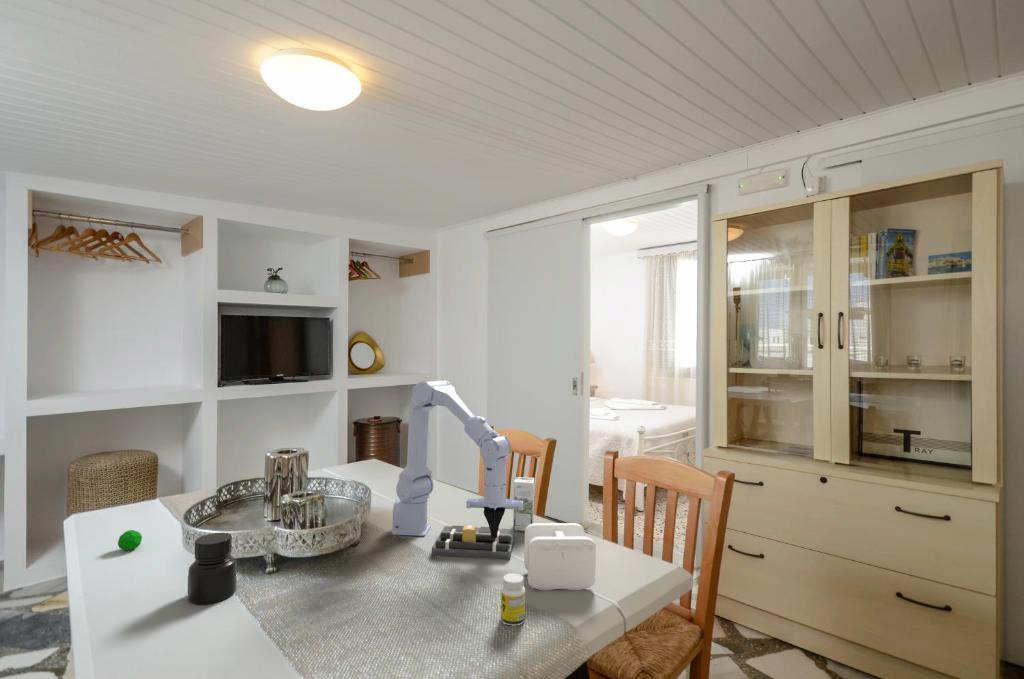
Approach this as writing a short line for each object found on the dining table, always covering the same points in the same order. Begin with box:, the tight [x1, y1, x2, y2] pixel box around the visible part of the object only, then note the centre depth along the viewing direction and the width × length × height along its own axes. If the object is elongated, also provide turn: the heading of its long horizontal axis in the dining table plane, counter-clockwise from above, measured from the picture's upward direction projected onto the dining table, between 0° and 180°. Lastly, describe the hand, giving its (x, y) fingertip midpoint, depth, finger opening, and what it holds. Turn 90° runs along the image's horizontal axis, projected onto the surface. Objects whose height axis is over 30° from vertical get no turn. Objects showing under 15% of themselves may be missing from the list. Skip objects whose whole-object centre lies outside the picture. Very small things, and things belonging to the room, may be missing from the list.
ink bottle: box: [187, 532, 238, 605], centre depth 111 cm, size 10×9×12 cm
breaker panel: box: [431, 525, 516, 561], centre depth 140 cm, size 20×16×3 cm
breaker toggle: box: [462, 524, 477, 543], centre depth 135 cm, size 3×3×4 cm
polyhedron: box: [117, 529, 143, 552], centre depth 134 cm, size 5×5×5 cm
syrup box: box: [512, 476, 535, 533], centre depth 153 cm, size 6×6×14 cm
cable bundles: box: [435, 529, 512, 552], centre depth 136 cm, size 19×10×2 cm, turn 85°
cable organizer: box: [523, 522, 597, 591], centre depth 120 cm, size 15×11×12 cm
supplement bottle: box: [500, 573, 526, 625], centre depth 102 cm, size 5×5×8 cm
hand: (494, 536), depth 135 cm, fingers closed
